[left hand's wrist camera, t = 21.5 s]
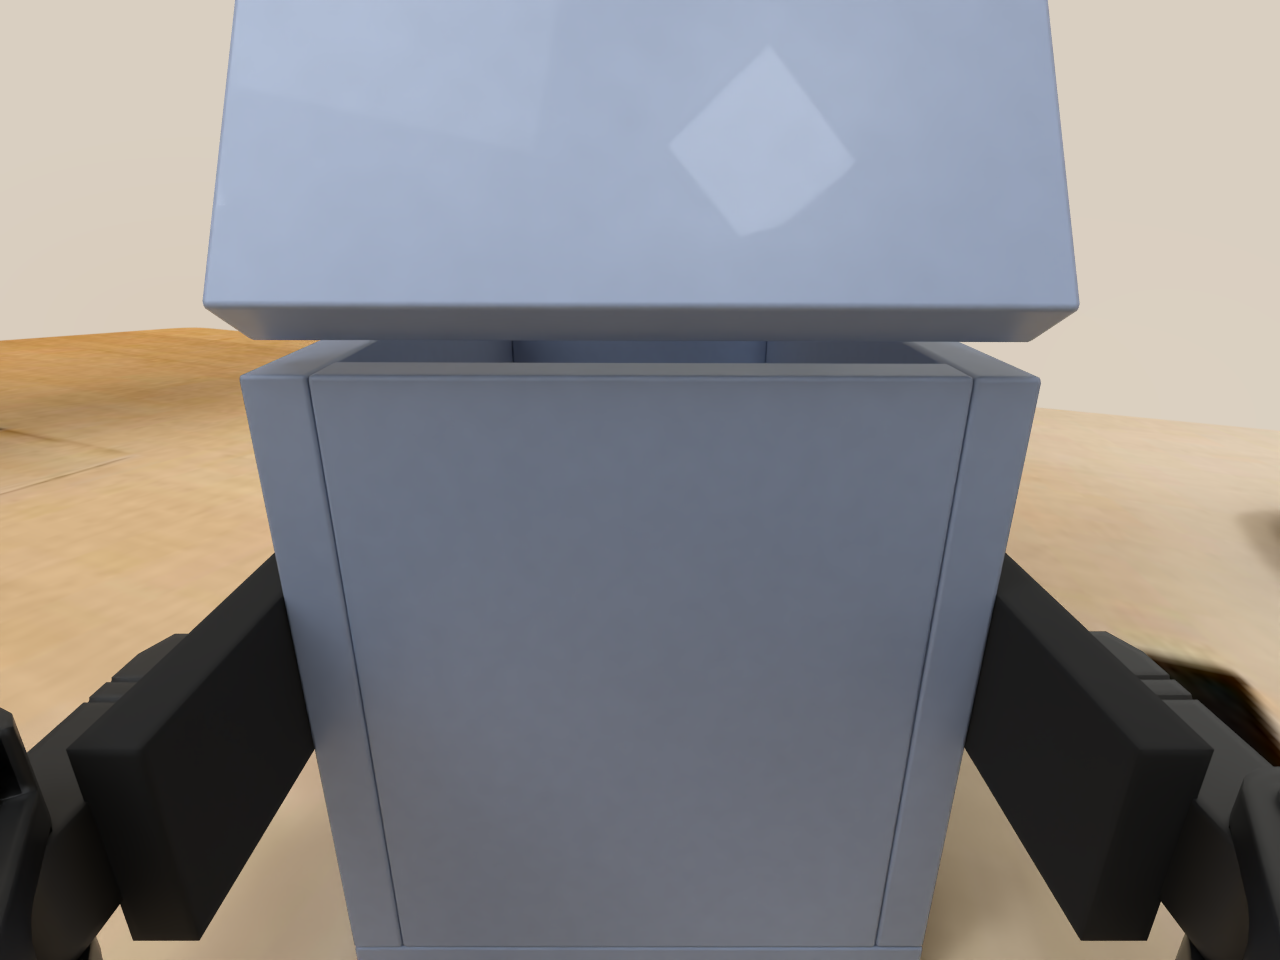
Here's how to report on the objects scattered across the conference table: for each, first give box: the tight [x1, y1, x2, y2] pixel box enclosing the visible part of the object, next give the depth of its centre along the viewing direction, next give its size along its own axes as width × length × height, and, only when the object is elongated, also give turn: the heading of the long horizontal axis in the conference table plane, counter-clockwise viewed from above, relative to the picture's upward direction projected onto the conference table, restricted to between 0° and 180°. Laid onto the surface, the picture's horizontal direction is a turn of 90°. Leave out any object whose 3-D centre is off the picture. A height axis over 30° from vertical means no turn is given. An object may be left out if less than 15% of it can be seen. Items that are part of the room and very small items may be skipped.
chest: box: [240, 340, 1041, 960], centre depth 18 cm, size 15×10×11 cm, turn 0°
